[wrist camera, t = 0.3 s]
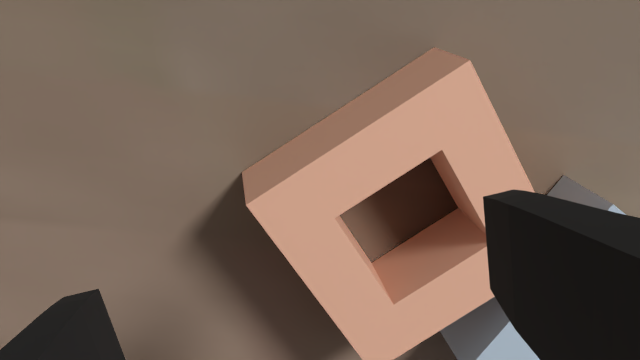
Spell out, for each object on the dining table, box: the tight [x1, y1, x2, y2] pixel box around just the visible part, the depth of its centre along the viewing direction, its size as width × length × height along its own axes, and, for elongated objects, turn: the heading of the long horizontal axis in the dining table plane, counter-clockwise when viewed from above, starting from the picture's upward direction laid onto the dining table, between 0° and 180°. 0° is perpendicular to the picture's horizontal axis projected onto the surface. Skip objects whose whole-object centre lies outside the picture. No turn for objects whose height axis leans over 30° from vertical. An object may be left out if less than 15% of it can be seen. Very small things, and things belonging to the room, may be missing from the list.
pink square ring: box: [242, 47, 535, 360], centre depth 20 cm, size 8×8×3 cm
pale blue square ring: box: [440, 175, 626, 360], centre depth 23 cm, size 8×8×3 cm
